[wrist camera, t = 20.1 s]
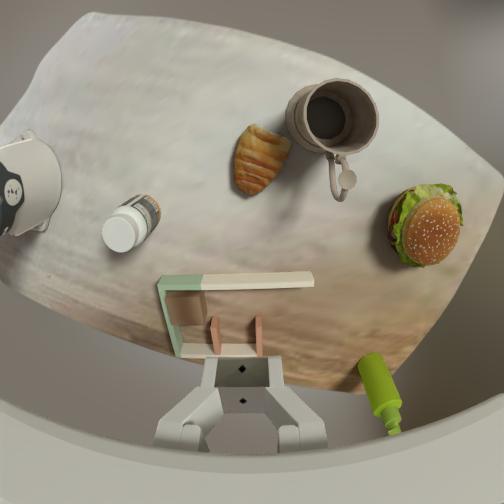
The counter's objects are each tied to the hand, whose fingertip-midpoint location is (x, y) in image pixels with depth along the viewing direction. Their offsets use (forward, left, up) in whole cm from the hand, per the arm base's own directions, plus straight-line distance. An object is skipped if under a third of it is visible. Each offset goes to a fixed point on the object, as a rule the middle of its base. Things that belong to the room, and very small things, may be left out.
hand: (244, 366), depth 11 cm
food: (+27, -4, -31) cm, 42 cm away
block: (-11, -18, -31) cm, 38 cm away
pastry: (+2, +5, -32) cm, 32 cm away
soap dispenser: (+24, -36, -31) cm, 53 cm away
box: (-3, -21, -31) cm, 38 cm away
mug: (+10, +8, -31) cm, 34 cm away
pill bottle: (-16, -2, -31) cm, 35 cm away
